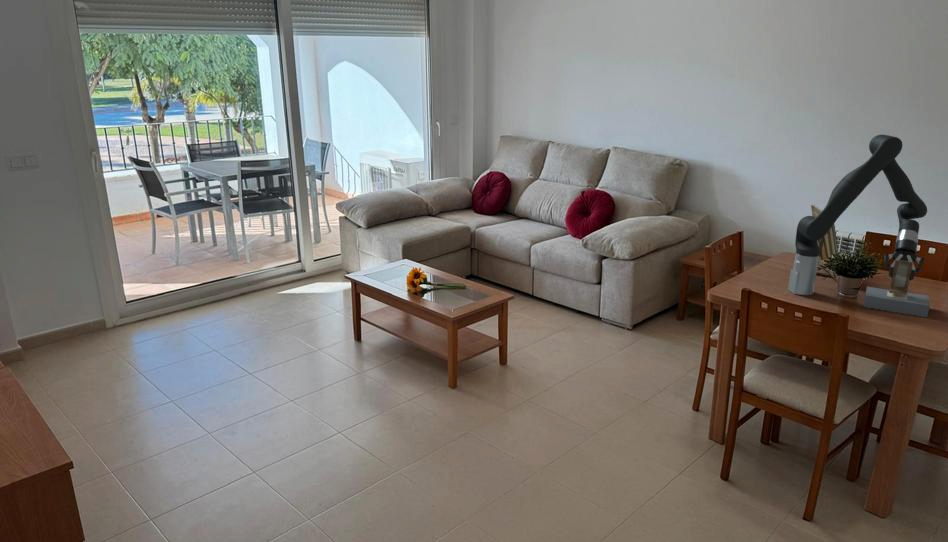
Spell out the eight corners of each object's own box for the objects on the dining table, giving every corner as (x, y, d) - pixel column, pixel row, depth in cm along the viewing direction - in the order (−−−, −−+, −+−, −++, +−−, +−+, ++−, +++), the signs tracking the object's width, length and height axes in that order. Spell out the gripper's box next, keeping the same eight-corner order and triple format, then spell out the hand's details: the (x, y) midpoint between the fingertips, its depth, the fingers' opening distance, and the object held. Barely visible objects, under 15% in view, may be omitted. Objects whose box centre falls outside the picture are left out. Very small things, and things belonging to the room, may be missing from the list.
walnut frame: (889, 288, 280) (895, 258, 276) (906, 291, 277) (912, 260, 273) (889, 292, 275) (895, 261, 271) (906, 295, 272) (912, 264, 268)
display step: (863, 307, 277) (865, 295, 276) (864, 297, 289) (867, 286, 287) (927, 317, 266) (929, 305, 265) (926, 307, 278) (928, 295, 276)
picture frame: (842, 285, 305) (854, 219, 296) (818, 283, 307) (829, 218, 298) (822, 265, 336) (832, 205, 327) (800, 263, 338) (810, 204, 329)
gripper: (887, 236, 279) (881, 270, 273) (928, 240, 272) (923, 276, 266) (885, 245, 285) (879, 280, 279) (925, 250, 278) (920, 285, 272)
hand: (901, 278), depth 272 cm, fingers closed on walnut frame, 6 cm apart
